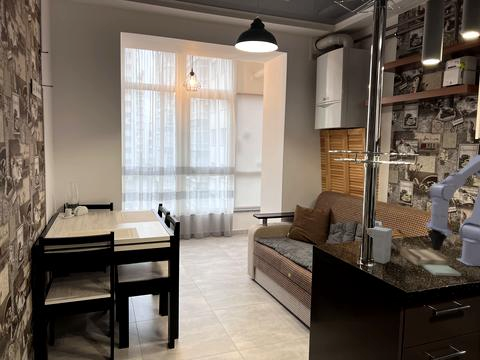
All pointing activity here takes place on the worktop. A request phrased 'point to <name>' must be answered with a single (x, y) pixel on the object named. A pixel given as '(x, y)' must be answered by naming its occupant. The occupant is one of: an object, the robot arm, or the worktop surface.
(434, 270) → the cover plate
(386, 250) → the small box
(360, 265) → the worktop surface
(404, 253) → the wooden box
